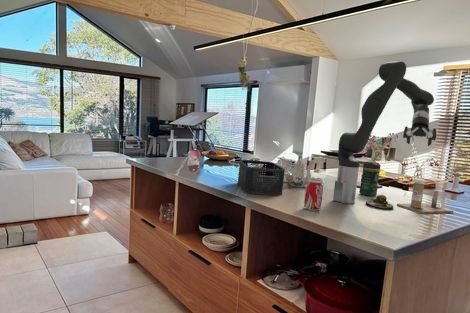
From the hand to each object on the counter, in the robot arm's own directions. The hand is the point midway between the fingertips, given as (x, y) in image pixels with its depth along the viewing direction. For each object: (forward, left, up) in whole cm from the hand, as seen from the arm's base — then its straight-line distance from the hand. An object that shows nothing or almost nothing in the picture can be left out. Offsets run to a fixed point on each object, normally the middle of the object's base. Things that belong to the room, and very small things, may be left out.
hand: (418, 143), depth 159 cm
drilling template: (+1, -7, -31) cm, 31 cm away
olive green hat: (-21, -1, -31) cm, 38 cm away
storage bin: (-66, +37, -31) cm, 82 cm away
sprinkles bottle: (-5, -7, -30) cm, 31 cm away
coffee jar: (-5, +23, -31) cm, 39 cm away
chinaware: (-33, +48, -31) cm, 66 cm away
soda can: (-60, -3, -31) cm, 68 cm away
